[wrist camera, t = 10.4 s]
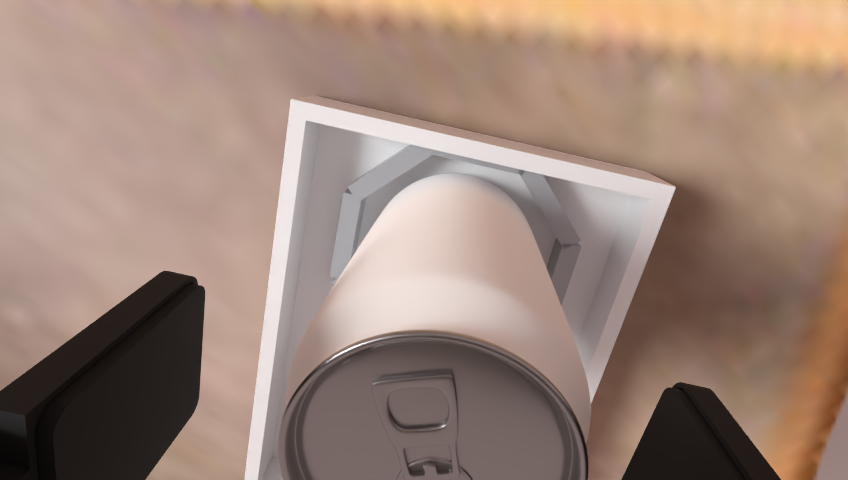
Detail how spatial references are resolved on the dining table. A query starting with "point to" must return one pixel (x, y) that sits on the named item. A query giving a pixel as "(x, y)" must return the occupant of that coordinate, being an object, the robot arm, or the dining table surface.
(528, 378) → the can
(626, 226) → the housing
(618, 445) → the dining table surface
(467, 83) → the dining table surface
